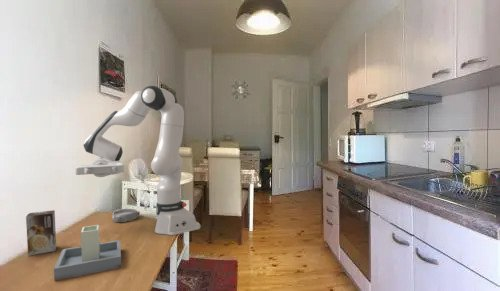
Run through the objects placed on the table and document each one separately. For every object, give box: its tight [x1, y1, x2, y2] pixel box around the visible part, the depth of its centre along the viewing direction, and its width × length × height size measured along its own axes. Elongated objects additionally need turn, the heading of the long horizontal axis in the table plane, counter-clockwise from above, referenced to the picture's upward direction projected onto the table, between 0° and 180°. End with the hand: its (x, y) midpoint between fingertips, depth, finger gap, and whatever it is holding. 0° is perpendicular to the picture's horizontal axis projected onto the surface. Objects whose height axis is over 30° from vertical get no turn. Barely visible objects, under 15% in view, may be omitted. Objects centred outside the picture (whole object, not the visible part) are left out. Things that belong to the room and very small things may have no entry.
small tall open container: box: [80, 224, 101, 262], centre depth 105 cm, size 5×7×12 cm
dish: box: [111, 208, 141, 223], centre depth 161 cm, size 14×14×5 cm
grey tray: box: [53, 239, 122, 281], centre depth 104 cm, size 20×18×4 cm
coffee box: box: [25, 209, 57, 256], centre depth 116 cm, size 9×6×16 cm
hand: (100, 170), depth 126 cm, fingers open, 8 cm apart
